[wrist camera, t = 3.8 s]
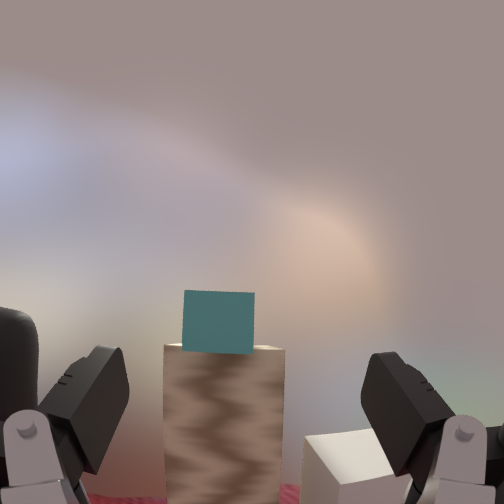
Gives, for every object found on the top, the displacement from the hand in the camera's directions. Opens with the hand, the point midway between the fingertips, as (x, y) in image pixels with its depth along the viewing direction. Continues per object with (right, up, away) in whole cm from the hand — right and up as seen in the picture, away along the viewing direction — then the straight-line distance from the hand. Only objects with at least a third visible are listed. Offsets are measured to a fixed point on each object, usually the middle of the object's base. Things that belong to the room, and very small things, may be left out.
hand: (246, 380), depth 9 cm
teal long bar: (-2, -5, +18) cm, 19 cm away
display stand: (-3, -37, +13) cm, 39 cm away
